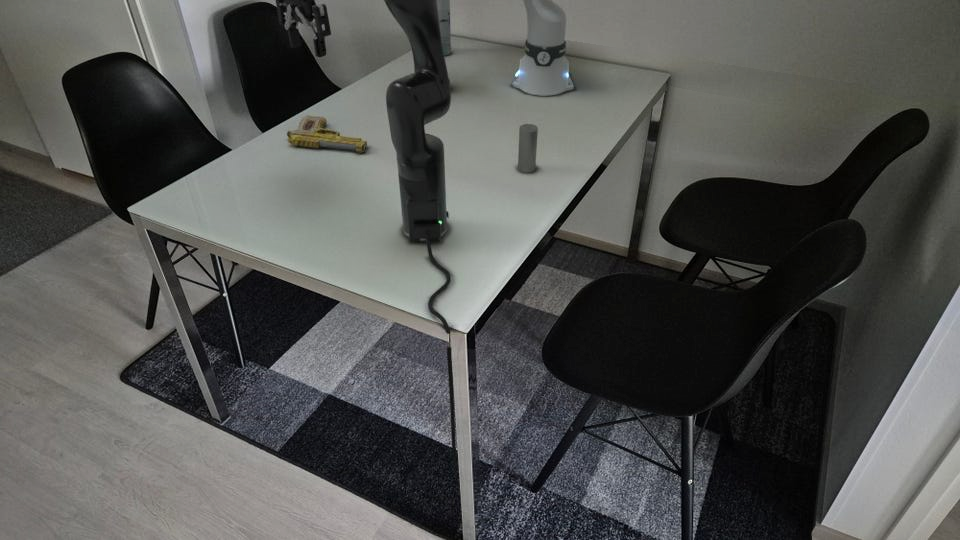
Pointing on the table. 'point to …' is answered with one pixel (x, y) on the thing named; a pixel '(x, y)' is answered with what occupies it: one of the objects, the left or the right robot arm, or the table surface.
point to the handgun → (322, 136)
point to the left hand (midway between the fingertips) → (308, 51)
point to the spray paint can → (445, 24)
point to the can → (527, 148)
